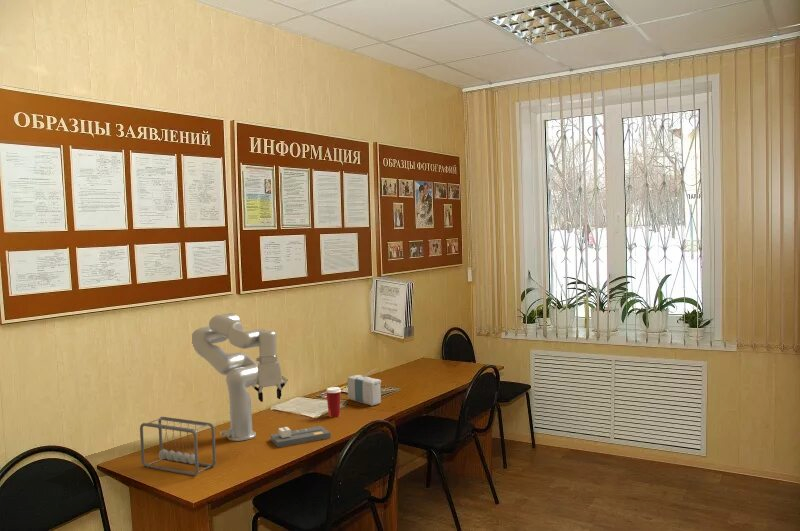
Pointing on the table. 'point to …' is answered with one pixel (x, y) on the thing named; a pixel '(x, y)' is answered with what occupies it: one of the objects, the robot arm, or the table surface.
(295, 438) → the fader panel
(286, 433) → the fader knob
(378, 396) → the stereo radio cassette player
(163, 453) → the newton's cradle
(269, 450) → the table surface
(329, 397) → the paper cup
